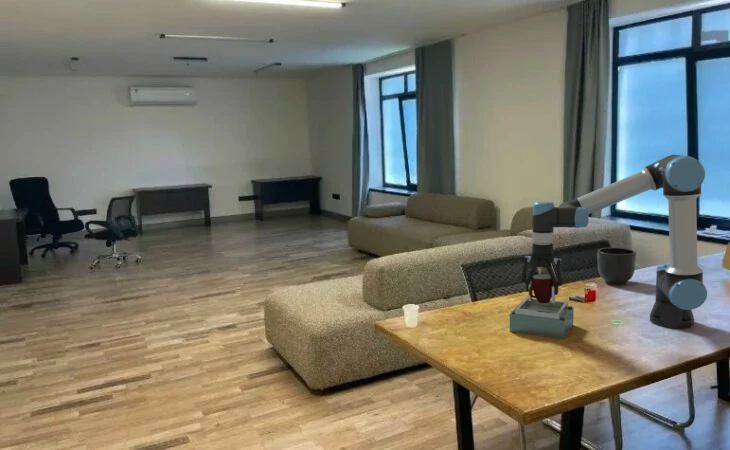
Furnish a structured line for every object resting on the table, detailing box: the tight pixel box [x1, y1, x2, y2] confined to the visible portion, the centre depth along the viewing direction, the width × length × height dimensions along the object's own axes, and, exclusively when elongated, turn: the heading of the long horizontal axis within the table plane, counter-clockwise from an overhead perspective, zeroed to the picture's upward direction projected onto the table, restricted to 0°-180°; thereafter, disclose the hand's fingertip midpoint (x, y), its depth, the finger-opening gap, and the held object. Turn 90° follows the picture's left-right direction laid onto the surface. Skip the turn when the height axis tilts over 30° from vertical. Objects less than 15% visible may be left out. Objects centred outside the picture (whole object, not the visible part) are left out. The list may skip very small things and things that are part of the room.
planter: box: [596, 247, 637, 286], centre depth 275 cm, size 17×17×16 cm
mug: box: [528, 273, 554, 303], centre depth 216 cm, size 10×8×10 cm
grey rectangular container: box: [509, 297, 575, 340], centre depth 218 cm, size 20×17×9 cm
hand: (541, 301), depth 217 cm, fingers closed on mug, 8 cm apart
